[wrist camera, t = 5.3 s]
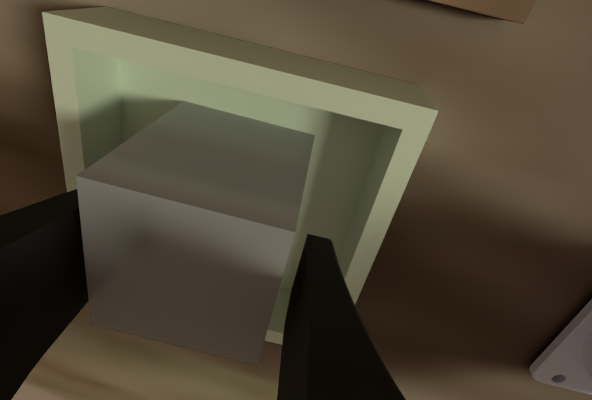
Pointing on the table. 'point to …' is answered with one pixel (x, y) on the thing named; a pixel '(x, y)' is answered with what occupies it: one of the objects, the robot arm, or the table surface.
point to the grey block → (193, 229)
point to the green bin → (249, 103)
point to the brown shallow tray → (494, 8)
